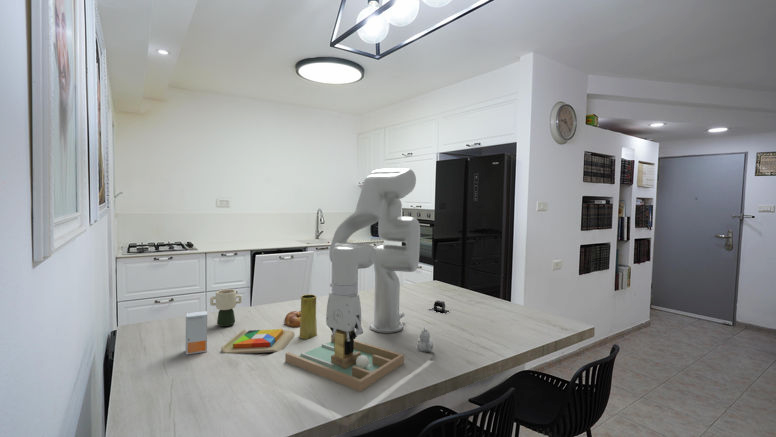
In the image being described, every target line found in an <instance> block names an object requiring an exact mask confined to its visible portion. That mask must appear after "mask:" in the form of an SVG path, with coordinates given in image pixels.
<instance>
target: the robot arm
mask: <svg viewBox="0 0 776 437" xmlns="http://www.w3.org/2000/svg"><path fill="white" fill-rule="evenodd" d="M416 183H417V177H416V174H415V172H414V171H413V169H411V168H380V169H375V170H373V171H371V172H370V175H368V176H366V177H365V179H364V181H363V182H362V187H361V190H360V193H359V196H358V201H357V204H356V208H355V210H354V212H353V213H351V214H350V215H349V216H348V217H346V218H345V219H344V220H343V221H342V222H341V223H340V224H339V226H338V227H337V228H336V230H335V232H334V234H333V236H332V237H333V238H332V241H331V244H330V248H329V260H330V262H331V282H330V284H329V286H330V287H331V291H330V292H329V294H328V297H327V303H326V318H325V323H326V326H327V327H328V328H329V329H330V331H331V332H332V333H331V334H333V337H335V332H336V331H339V330H341V331H345V332H346V340H347V341H345V355H348V354H350V353H352V352H353V351H354V340H356V339H357V337H358V336H360V335H362V334H364V330H363V327H362V309H361V308H362V307H361V300H360V299H361V298H360V294H359V293H358V292H359V290H358V288H359V283H358V281H359V269H367V268H371V267H372V265H373V269H374V270H373V271H374V305H373V306H374V309H373V310H374V312H373V315H374V316H373V321H372V322H370V324H369V328H370V330H372V331H374V332H376V333H383V334H392V333H393V334H394V333H397V332H400V331H402V330H403V329H404V324H403V322H401V319H402V318H405V313H404V312H400V296H401V295H400V294H401V293H400V291H401V290H400V289H401V283H400V279H399V277H398V275H397V273H396V272H403V273H413V272H415V271H417V269H418V267H419V263H420V251H421V250H420V249H421V247H420V246H421V226H420V222H419V220H418V219H417V218H416V217H412V216H402V208H403V207H402V205H403V204H402V201H401V200H402V199H404V198H405V197H407V195H409V194H411V193H412V192H413V190H414V189H415V187H416ZM376 223H378V226H377V229H378V230H377V231H378V237H379V238H380V239H381V240H382V241H386V242H394V243H395V242H396V243H405V245H396V244H381V245H378V246H376V247H373V245H371V244H368V243H363V242H362V243H361V242H360V243H359V242H350V241H348V240H349V238H350V237H351V236H353V234H354V233H356V232H358V231H360V230H362V229H364V228H367V227H371V226H372V225H374V224H376ZM350 332H351V335H350ZM334 351H335V338H334Z"/></svg>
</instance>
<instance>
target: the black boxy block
mask: <svg viewBox="0 0 776 437" xmlns="http://www.w3.org/2000/svg"><path fill="white" fill-rule="evenodd" d="M445 303H446V302H445V301H442V300H436V301H434V304H433V308H432V307H431V308H432V309H430V308H429V309H428V310H429V312H433V311H436V312H435V313H438V312H440V314H443V313H445V314H444V315H447V314H446V313H447V312H449V311H450V310H448V309H446V304H445ZM449 313H450V312H449Z"/></svg>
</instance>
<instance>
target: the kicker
mask: <svg viewBox="0 0 776 437" xmlns="http://www.w3.org/2000/svg"><path fill="white" fill-rule="evenodd" d="M350 335H351V332H350ZM345 341H347V340H346V332H345V331H341V330H339V331H336V332H335V354H334V355H332V356H331V363H334V364H336V365H339V366H342V368H343V369H346V368H348V367H350V366H352V365H353V364H355V363H356V359H357V358H358V357H359V356H361V352H359V351H358V352H356V353H353V352H352V353H350V354H348V355H345Z"/></svg>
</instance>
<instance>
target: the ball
mask: <svg viewBox="0 0 776 437" xmlns="http://www.w3.org/2000/svg"><path fill="white" fill-rule="evenodd" d="M368 364H369V360H368V358H367V357H366V356H364V355H361V356H359V357H358V358H357V359H356V365H357V367H360V368H363V369H365V368H366V367H367V366H368Z"/></svg>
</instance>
